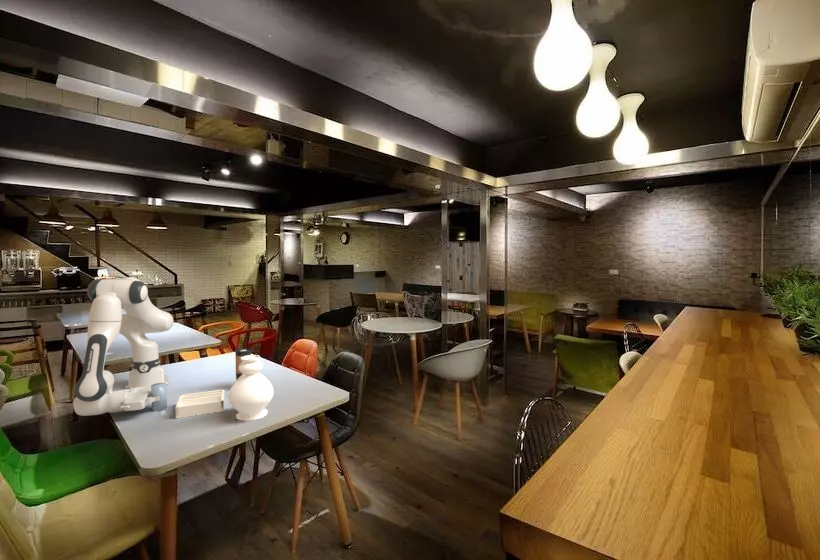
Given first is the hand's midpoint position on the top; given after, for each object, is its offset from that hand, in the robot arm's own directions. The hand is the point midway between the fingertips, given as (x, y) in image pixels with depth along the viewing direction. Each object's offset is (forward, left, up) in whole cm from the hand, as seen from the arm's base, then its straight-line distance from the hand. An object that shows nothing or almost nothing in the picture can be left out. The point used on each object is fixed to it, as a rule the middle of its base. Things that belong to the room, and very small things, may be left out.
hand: (161, 395), depth 168 cm
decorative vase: (+24, +36, -6) cm, 44 cm away
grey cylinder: (0, -1, -6) cm, 6 cm away
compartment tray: (+7, +16, -6) cm, 19 cm away
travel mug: (-14, +34, -6) cm, 37 cm away
